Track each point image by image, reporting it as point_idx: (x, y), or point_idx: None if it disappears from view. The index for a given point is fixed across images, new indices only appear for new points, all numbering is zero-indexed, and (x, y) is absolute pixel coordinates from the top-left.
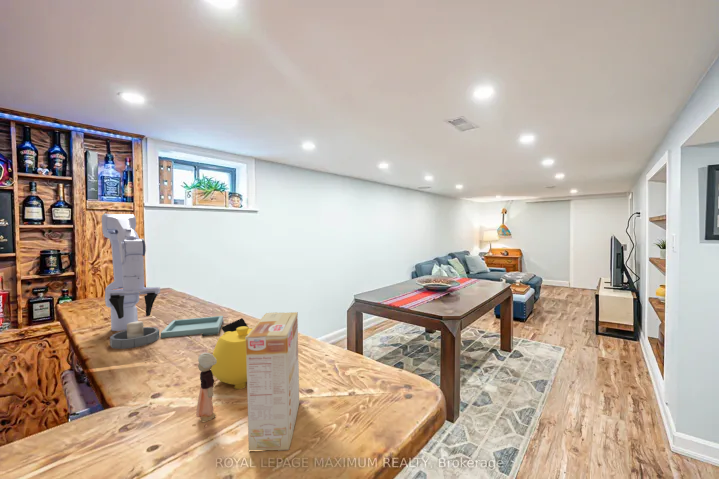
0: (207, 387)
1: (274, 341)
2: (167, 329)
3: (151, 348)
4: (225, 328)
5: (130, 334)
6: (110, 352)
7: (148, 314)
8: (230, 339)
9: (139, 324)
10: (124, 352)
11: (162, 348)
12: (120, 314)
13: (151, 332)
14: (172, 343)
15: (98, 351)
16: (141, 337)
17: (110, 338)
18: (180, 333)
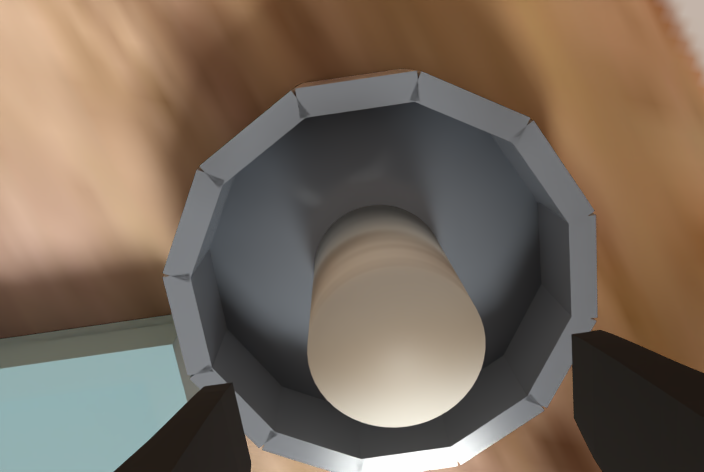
0: None
1: None
2: None
3: (155, 93)
4: None
5: (400, 232)
6: (492, 61)
7: (190, 401)
8: None
9: (320, 306)
10: (360, 32)
11: (43, 70)
12: (603, 362)
13: (304, 412)
14: (24, 198)
15: (613, 114)
16: (238, 134)
17: (573, 181)
18: (5, 355)
